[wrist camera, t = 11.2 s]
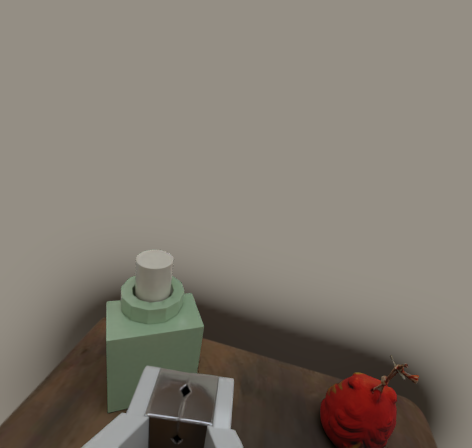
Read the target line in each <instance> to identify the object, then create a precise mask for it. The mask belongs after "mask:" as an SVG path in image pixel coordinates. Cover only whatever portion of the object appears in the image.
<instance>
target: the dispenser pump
mask: <svg viewBox="0 0 472 448" xmlns="http://www.w3.org/2000/svg"><path fill="white" fill-rule="evenodd" d="M173 261H174V260H173V257H172V255H171V254H169V253H168V252H165V251H162V250H147V251H144V252H141V253H140V254H138V256H137V257H136V275H135V295H136V297H137V298H138V299H139V300H142V301H146V302H150V303H151V302H160V301H163V300H165V299H167V298H168V297H169V296H170V294H171V284H172V272H173Z"/></svg>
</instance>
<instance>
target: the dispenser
mask: <svg viewBox="0 0 472 448" xmlns="http://www.w3.org/2000/svg"><path fill="white" fill-rule="evenodd" d="M106 305H107V306H106V308H107V309H106V312H107V313H106V359H107V405H108V413H111V412H115V411H119V410H123V409H128V408H129V405H130V403H131V400H132V398H133V395H134V393H135V390H136V388H137V385H138V383H139V380H140V378H141V375H142V373H143V370H144V369H145V367H146V366H154V367H160V368H165V369H171V370H177V371H182V372H188V373H190V372H192V373H197V369H198V363H199V356H200V350H201V343H202V336H203V330H204V326H203V323H202V320H201V317H200V314H199V312H198V309H197V306H196V304H195V301H194V298H193V295H192V293H187V294H184V289H183V286H182V283H181V282H180V281H179V280H177V279H176V278H175V277H173V276H172V284H171V294H170V296H169V297H168V298H167V299H165V300H163V301H160V302H151V303H150V302H146V301H142V300H139V299H138V298H136V295H135V276H134V277H131V278H129V279H128V280H127V281H126V282H125V283H124V285H123V286H122V287H121V300H120V301H119V300H118V301H108V302H107V304H106Z"/></svg>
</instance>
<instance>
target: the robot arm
mask: <svg viewBox="0 0 472 448" xmlns="http://www.w3.org/2000/svg"><path fill="white" fill-rule="evenodd" d="M233 390H234V379H232V378H225V377H219V376H214V375H207V374H199V373H192V372H190V373H188V372H182V371H177V370H171V369H165V368H160V367H154V366H146V367H145V369H144V370H143V373H142V375H141V378H140V380H139V383H138V385H137V388H136V390H135V393H134V395H133V398H132V400H131V403H130V405H129V408H128V410H127V413H121V414H120V415H118V416H117V417H116V418H115V419H114V420H113V421H111V422H110V423H109V424H108V425H107V426H106V427H105V428H103V429H102V430H101V431H100V432H99V433H98V434H96V435H95V436H94V437H93V438H92V439H91V440H89V441H88V442H87V443H86V444H85V445H84V446H83V447H81V448H243V446H242V443H241V441H240V439H239V437H238V435H237V433H236V431H235V430H232V429H231V416H232V403H233Z"/></svg>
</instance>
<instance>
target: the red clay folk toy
mask: <svg viewBox="0 0 472 448" xmlns="http://www.w3.org/2000/svg"><path fill="white" fill-rule="evenodd" d="M390 357H391V359H392V361H393V363H394V366H395V367H394V369H393V370H392V372H391V373H390V374H389V375H388V376H387V377H386V376H382V378H381V381H380V380H378V379H375V378H372V377H370V376H367V375H366V374H363V373H354V374H353V376H352V377H349V378H346V379H344V380H343V381H342V382H340V383H338V384H334V385H333V386H331V387H330V388H329V389H328V391H327V393H326V398H325V399H323V401H322V403H321V409H320V415H321V423H322V426H323V428H324V431H325V433H326V435H327V436H328V437H329V439H330V440H331V441H332V443H333V444H334V445H335V446H336V447H337V448H384V447H385V445H386V443H387V440H388V438H389V437H390V436H391V434H392V432H393V430H394V428H395V425H396V414H397V410H396V405H395V403H396V402H397V395H396V393H395V391H394V390H393V389H392V388H391V387H388V386H387V384H388V383H389V380H390V379H392V377H394V376H395V375H396V374H397V373H400V375H401V377H402V378H403V379H404V380H405V379H406V378H405V377H404V376H406V377H407V378H408V379H410V380H412V381H413V382H414V383H415V384H416V383H417V382H418V378H419V376H418V375H410V374H408V373H406V372H405V371H403V370H404V368H403V367H406V368H407V367H408V365H407V364H402V365H396V364H395V362H394V360H393V358H392V355H391V356H390ZM403 375H404V376H403Z"/></svg>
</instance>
